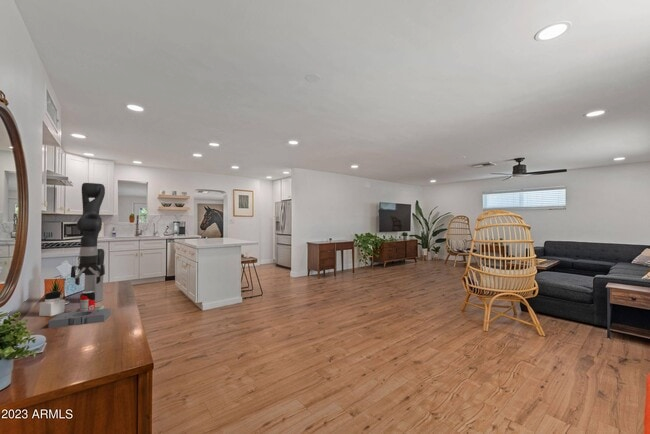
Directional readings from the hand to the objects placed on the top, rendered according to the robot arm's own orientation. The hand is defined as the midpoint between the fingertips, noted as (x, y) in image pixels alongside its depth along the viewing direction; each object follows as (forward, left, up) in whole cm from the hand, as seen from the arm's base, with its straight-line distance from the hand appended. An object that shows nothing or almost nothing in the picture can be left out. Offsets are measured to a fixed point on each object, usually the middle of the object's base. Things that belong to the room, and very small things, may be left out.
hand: (87, 284), depth 151 cm
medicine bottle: (-7, -17, -16) cm, 25 cm away
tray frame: (0, 0, -16) cm, 16 cm away
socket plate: (+13, +1, -16) cm, 21 cm away
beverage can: (0, 0, -16) cm, 16 cm away
